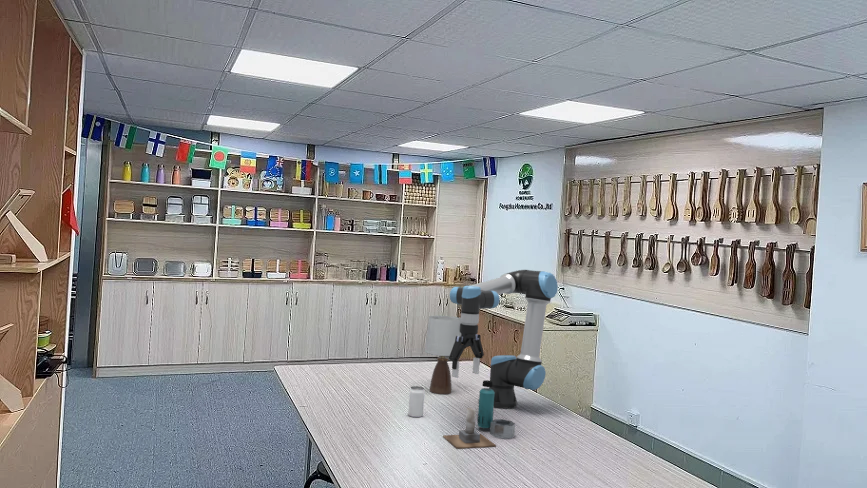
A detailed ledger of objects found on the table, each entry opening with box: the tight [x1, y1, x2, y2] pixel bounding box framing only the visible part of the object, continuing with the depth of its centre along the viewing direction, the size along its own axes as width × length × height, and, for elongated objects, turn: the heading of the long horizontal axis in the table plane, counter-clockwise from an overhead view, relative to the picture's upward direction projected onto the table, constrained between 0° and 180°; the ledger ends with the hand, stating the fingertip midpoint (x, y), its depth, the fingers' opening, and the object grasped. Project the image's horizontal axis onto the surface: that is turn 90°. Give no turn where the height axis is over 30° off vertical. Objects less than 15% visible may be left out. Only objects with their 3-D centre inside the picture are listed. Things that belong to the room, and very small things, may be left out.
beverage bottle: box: [476, 379, 495, 429], centre depth 267 cm, size 6×7×20 cm
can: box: [407, 385, 425, 418], centre depth 281 cm, size 6×6×12 cm
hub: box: [489, 418, 516, 440], centre depth 261 cm, size 9×9×5 cm
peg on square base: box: [442, 407, 497, 450], centre depth 250 cm, size 16×14×13 cm
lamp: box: [424, 315, 461, 395], centre depth 327 cm, size 19×19×37 cm
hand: (465, 375), depth 269 cm, fingers open, 13 cm apart
